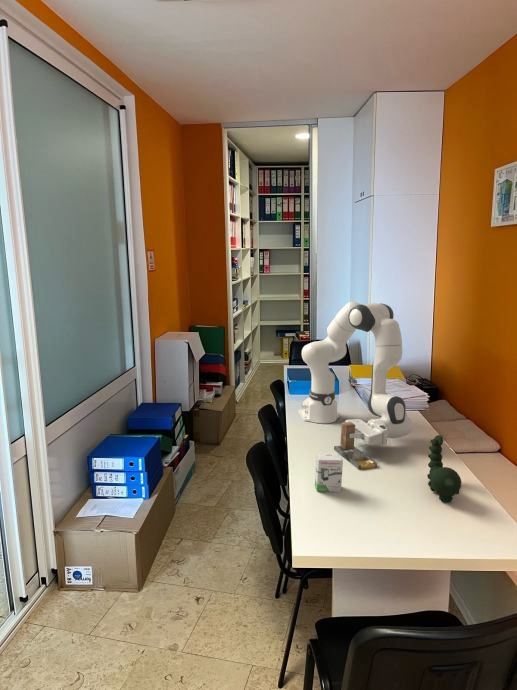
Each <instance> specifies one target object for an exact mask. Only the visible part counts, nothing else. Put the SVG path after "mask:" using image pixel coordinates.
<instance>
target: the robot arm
mask: <svg viewBox="0 0 517 690" xmlns="http://www.w3.org/2000/svg"><path fill="white" fill-rule="evenodd" d="M394 315H395V314H394V311H393V308H391V306H390V305H388V304H385V303H374V302H373V303H364V304H361V303H359V302H357V301H348V302H347V303H346V304H345V305H344V306H342V307H341V309H339V311H338V312H337V314H336V315H335V316H334V317H333V319H332V321H330V323H329V325H328V326H327V328H326V333H327V337H325V338H323V340H319V341H316V340H315V341H312V342H310V343H307V344H305V345H304V346H303V347H302V349H301V358H302V360H303V362H304V363H305V364H307V366H308V368H309V371H310V374H311V378H310V379H311V384H310V386H311V387H310V390H309V396H308V397H307V398H306V399H304V400H303V402H302V404H301V408H299V409H298V410H297V413H298V414H299V415H300V417H301V419H302V420H303V421H304V422H311V423H316V424H332V423H334V422H337V419H339V418H340V415H339V414H338V405H337V404H338V402H337V400H336V391H335V385H336V383H335V382H336V381H335V380H336V377H335V376H336V375H335V374H334V373H333V372H332V371H331V370H330V367H329V364H330V363H334V362H337V361H340V360H342V359H343V358H345V356H346V354H347V343H348V342H349V340H350V338H351V337H352V335H354V333H355V332H356V331H357V330H360V331H363V332H365V333H368V332H372V334H373V337H374V358H373V362H372V365H371V366H372V367H371V383H370V384H371V386H370V388H371V389H370V394H369V398H368V401H367V402H368V403H367V407H368V410H369V412H370V413H371V414H372V415H374V416H376V417H379V418H371V419H369V420H368V421H367V422H366V421H364V420H362V419H359V418H355V419H346V420H345V421H344V422H352V423H353V424H355V433H349V434H348V436H349V437H350V438H354V439H360V440H362V441H363V442H364V443H365V444H367V445H371V446H376V445H377V446H378V445H385V446H386V445H388V439H399V438H402V437H406V436H408V435H409V434H410V433H411V431H412V429H413V422H412V419H411V418H410V417H409V416H408V414H407V409H406V402H405V400H404V399H403V398H402V397H401V396H396V395H392V394H387V391H386V390H387V389H386V386H387V374H388V372H389V370H390V369H391V368H393V367H394V366H396V365H398V364H399V362H401V360H402V358H403V357H402V356H403V339H402V332H401V328H400V324H399V322H398V321H397V320H395V319H394Z"/></svg>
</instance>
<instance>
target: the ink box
mask: <svg viewBox="0 0 517 690" xmlns="http://www.w3.org/2000/svg"><path fill="white" fill-rule="evenodd" d="M315 458H316V460H315V473H314V475H315V476H314V487H315V490H316V492H319V493H321V492H328V493H329V492H331V493H332V492H333V493H334V492H338V493H339V492H340V493H341V492H342V482H343V481H342V479H343V463H344V462H343V460H344V459H343V457H342V456H341V455H340V454H339V453H336V454H335V453H316V457H315Z"/></svg>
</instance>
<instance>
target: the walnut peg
mask: <svg viewBox="0 0 517 690" xmlns="http://www.w3.org/2000/svg"><path fill="white" fill-rule="evenodd" d="M340 427H341V428H340V445H339V446H341V447H343V448H344V450H351V449H352V448H354V446H355V438H350V437H349V436H348V434H349V433H355V424H353V423H352V422H345V421H344V422H341V426H340Z"/></svg>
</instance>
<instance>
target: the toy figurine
mask: <svg viewBox="0 0 517 690" xmlns="http://www.w3.org/2000/svg"><path fill="white" fill-rule="evenodd" d="M430 443H431V445H430V446H428V450H430V452H431V453H428V455H427V456H428V457H427V458H429V459H430V461H429V462H428V464H427V467H429V468H430V469H429V471H428V472H429V473H428V474H427V475H426V477H427V479H428V480H429V481H428V482H427V485H428V486H429V489H430V491H432V492H433V493H434V492H436V494H437V495H439V496H438V499H439V501H441V502H443V503H451V502H452V501H453V499H454V498H453V496H456V495H459V494H460V489H461V488H462V479H461V477H460V475H459V473H458V472H457V471H456V470H455V469H453V468H451V467H447V466H445V467H444V464H443V454H442V453H443V447H442V445H443V443H444V437H443V435H440V434H438V435H436V436H435V437H433V439H430Z"/></svg>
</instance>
